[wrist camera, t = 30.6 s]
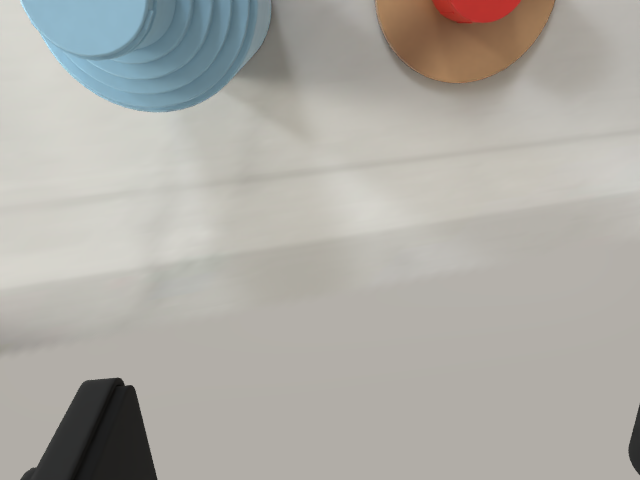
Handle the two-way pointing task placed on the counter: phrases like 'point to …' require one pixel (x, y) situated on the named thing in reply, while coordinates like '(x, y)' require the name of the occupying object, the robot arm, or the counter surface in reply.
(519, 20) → the coaster
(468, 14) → the cap
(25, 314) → the counter surface
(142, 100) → the bottle
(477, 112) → the counter surface
